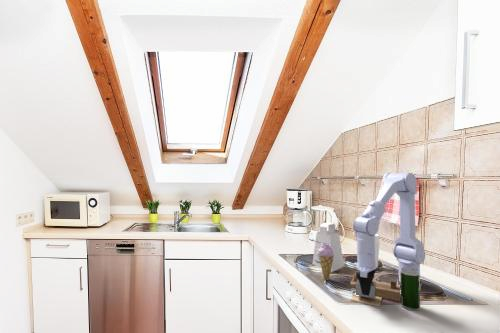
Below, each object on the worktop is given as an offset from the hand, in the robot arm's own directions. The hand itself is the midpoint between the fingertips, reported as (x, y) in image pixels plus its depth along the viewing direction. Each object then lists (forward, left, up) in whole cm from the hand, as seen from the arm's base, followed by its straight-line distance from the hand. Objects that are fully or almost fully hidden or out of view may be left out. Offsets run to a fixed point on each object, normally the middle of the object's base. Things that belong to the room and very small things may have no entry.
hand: (366, 291), depth 95 cm
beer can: (-1, +13, -3) cm, 13 cm away
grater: (-28, -20, -3) cm, 35 cm away
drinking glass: (-37, -2, -3) cm, 38 cm away
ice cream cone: (-11, -17, -3) cm, 21 cm away
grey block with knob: (0, 0, -1) cm, 1 cm away
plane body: (-7, +2, -3) cm, 8 cm away
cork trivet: (0, 0, -3) cm, 3 cm away
